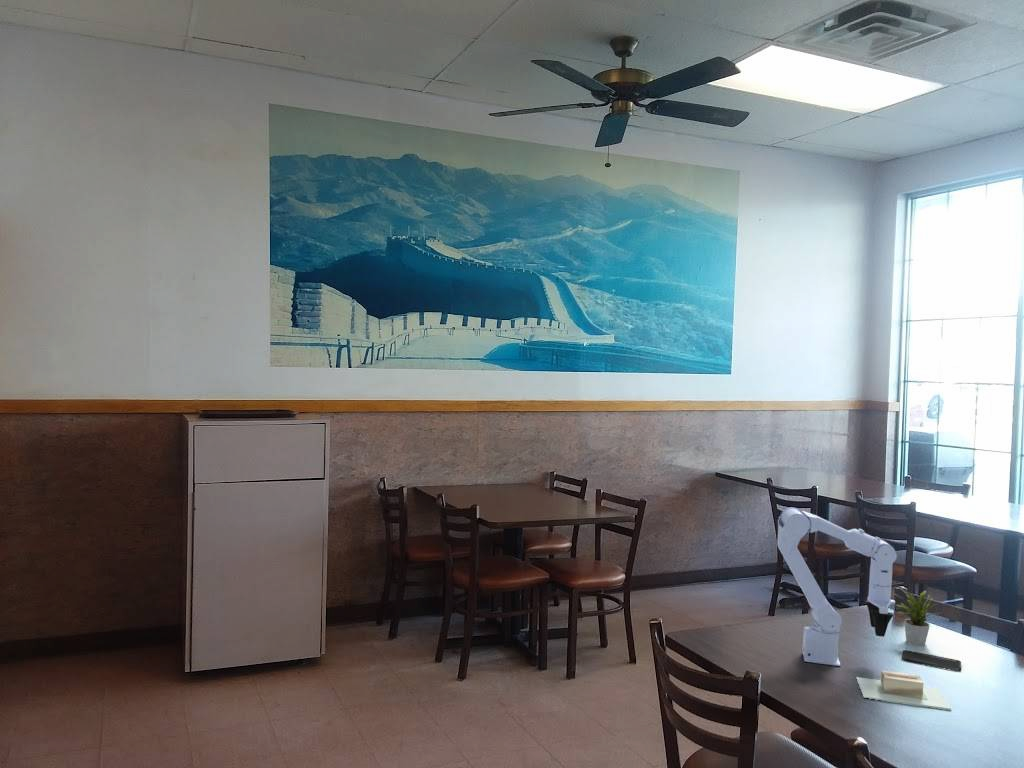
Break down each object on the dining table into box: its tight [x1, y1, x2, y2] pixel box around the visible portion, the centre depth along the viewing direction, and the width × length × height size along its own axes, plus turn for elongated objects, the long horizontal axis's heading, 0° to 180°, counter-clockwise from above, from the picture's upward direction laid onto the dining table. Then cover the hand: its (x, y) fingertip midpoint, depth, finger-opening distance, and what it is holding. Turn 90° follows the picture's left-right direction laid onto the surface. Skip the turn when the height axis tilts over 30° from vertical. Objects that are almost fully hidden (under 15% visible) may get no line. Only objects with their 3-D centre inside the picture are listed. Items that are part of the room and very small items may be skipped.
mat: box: [855, 676, 952, 712], centre depth 208 cm, size 20×13×1 cm, turn 75°
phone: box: [901, 649, 962, 672], centre depth 231 cm, size 8×1×15 cm
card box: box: [880, 670, 924, 698], centre depth 207 cm, size 5×9×4 cm, turn 74°
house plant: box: [892, 588, 940, 647], centre depth 247 cm, size 14×14×16 cm
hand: (877, 631), depth 227 cm, fingers open, 7 cm apart
